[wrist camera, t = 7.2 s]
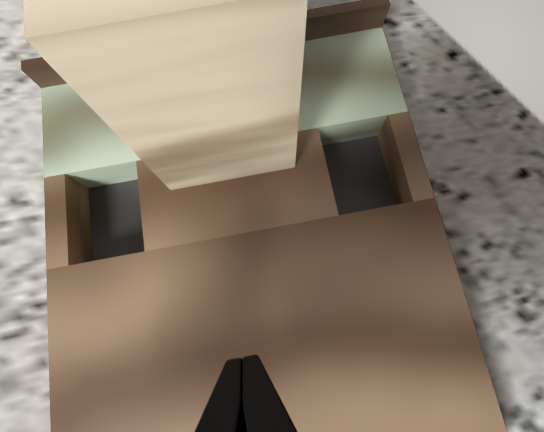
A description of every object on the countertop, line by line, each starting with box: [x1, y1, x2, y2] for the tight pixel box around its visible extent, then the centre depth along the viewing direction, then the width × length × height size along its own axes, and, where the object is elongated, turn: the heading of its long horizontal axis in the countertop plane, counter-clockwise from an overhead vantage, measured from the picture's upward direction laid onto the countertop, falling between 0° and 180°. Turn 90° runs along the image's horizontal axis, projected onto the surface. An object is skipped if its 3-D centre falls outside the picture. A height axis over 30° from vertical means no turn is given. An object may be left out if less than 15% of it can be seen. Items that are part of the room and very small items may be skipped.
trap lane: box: [21, 0, 507, 432], centre depth 17 cm, size 22×18×4 cm
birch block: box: [23, 0, 308, 190], centre depth 13 cm, size 6×6×10 cm
